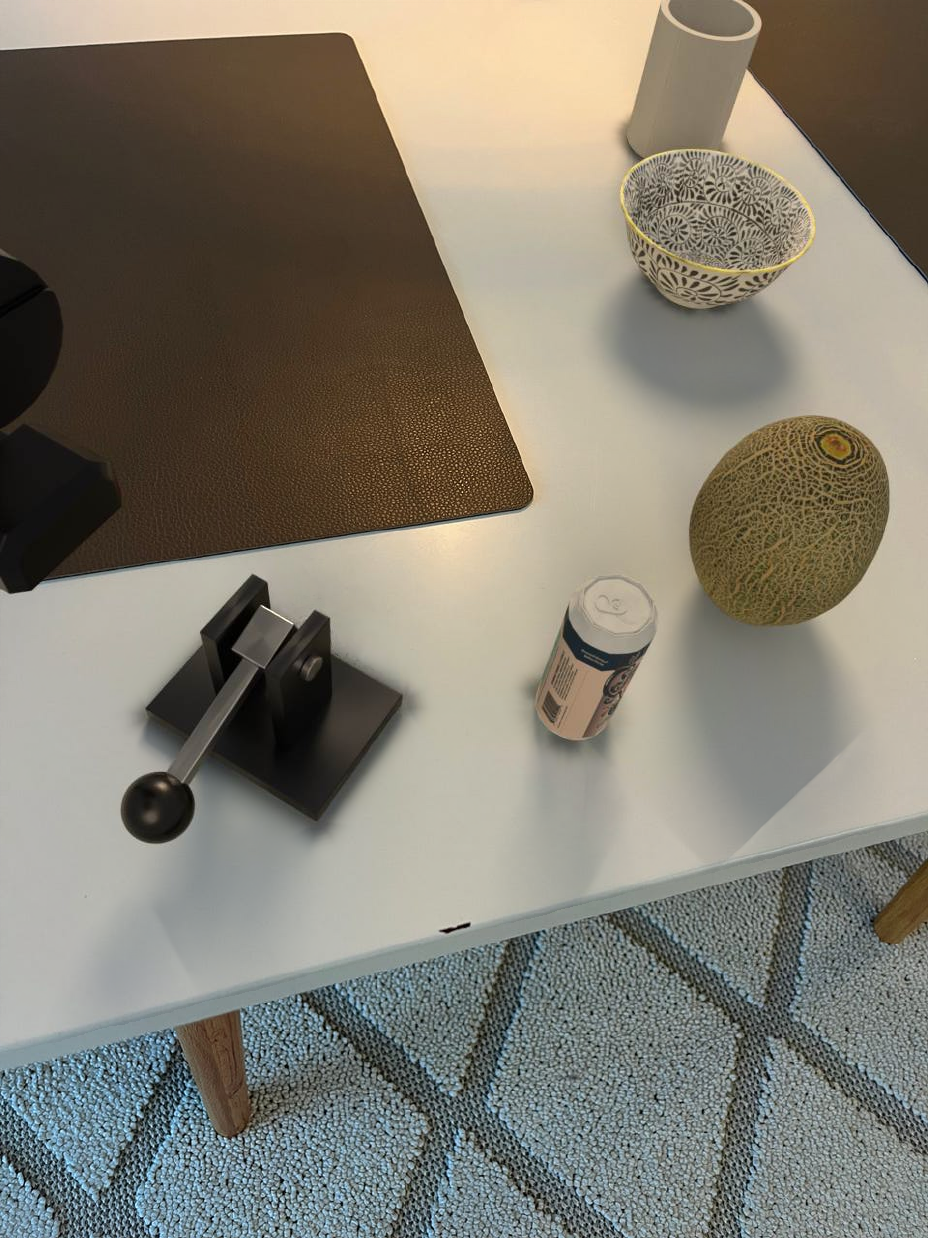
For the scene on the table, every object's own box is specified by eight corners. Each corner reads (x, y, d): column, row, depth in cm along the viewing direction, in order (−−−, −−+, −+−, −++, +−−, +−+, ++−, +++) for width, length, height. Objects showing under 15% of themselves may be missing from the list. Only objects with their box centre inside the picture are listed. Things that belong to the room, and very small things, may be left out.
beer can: (606, 750, 58) (661, 652, 48) (529, 736, 58) (568, 634, 48) (611, 682, 60) (665, 575, 50) (538, 668, 60) (576, 558, 50)
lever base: (316, 822, 53) (311, 750, 45) (148, 717, 56) (113, 630, 48) (402, 703, 58) (411, 618, 50) (243, 610, 60) (226, 514, 52)
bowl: (668, 367, 77) (696, 290, 70) (566, 248, 83) (584, 169, 77) (816, 318, 82) (855, 242, 76) (709, 210, 89) (736, 133, 82)
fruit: (631, 562, 66) (698, 406, 53) (748, 501, 70) (835, 344, 57) (740, 688, 61) (842, 551, 49) (858, 615, 65) (980, 471, 53)
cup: (608, 132, 94) (640, 2, 84) (669, 107, 98) (707, -21, 88) (674, 180, 91) (715, 50, 81) (735, 151, 94) (781, 24, 84)
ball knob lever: (178, 859, 49) (152, 856, 45) (123, 823, 50) (94, 817, 46) (317, 645, 52) (303, 627, 48) (264, 614, 53) (246, 593, 49)
